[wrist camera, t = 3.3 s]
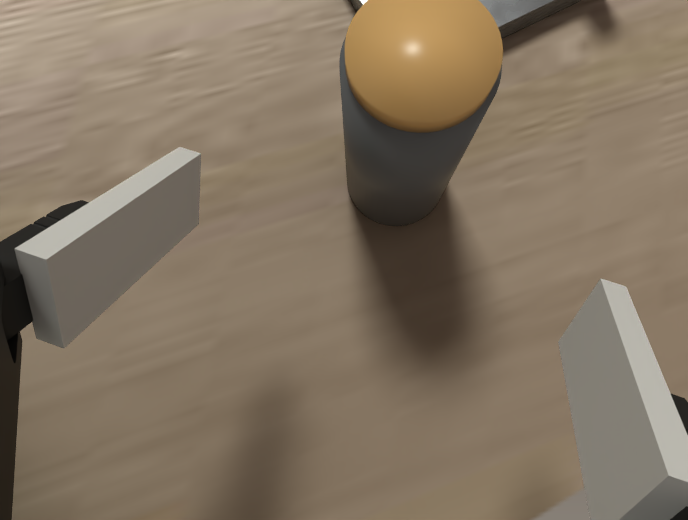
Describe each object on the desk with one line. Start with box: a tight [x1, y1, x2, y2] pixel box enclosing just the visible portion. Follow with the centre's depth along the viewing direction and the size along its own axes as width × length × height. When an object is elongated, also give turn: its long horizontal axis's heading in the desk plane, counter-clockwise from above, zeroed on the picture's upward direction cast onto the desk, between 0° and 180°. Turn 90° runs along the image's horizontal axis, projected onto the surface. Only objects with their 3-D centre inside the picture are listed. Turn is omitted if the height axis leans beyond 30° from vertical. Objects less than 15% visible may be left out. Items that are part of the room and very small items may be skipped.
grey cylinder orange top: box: [340, 0, 503, 226], centre depth 21 cm, size 6×6×12 cm
